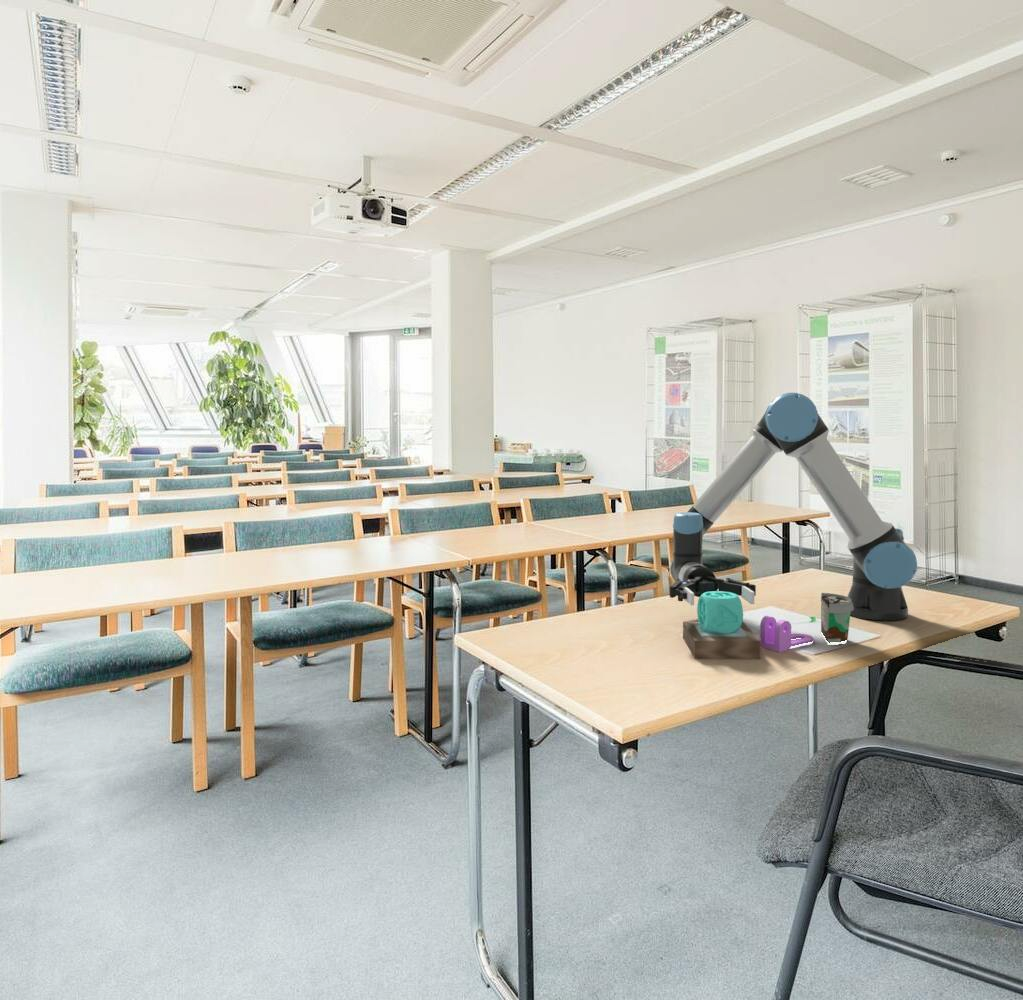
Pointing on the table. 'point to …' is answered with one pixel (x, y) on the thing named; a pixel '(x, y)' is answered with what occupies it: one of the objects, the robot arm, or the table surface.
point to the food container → (835, 616)
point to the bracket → (779, 635)
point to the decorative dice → (719, 612)
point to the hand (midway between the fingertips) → (722, 598)
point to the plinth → (721, 643)
